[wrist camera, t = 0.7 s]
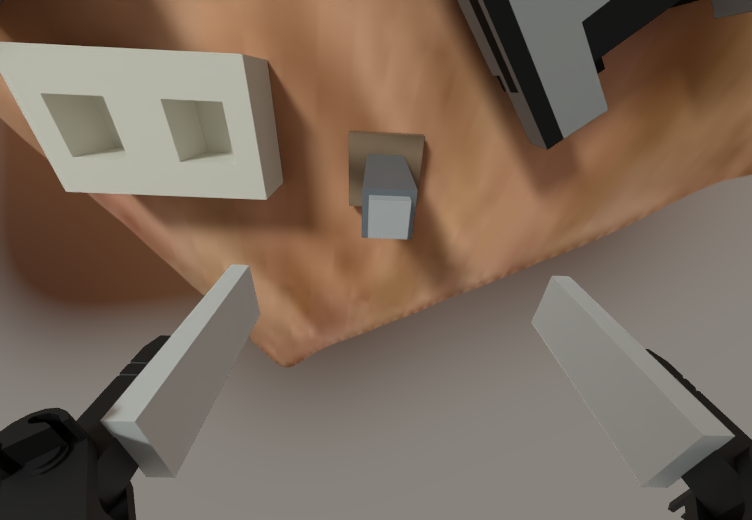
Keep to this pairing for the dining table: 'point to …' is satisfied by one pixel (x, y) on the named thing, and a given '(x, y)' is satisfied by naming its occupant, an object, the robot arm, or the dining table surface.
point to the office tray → (561, 53)
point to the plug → (388, 198)
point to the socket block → (149, 119)
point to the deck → (381, 145)
